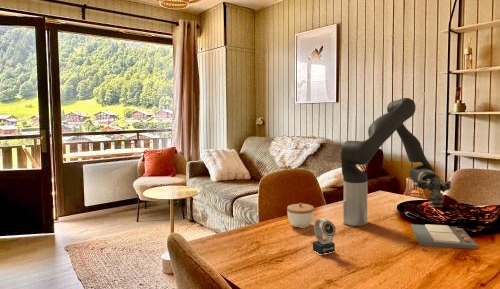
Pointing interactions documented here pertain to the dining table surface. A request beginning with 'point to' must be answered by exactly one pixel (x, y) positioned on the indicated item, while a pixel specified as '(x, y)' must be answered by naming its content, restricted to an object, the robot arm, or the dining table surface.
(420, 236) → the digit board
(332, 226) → the watch
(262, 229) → the dining table surface
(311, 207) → the lidded jar
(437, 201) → the salt shaker
